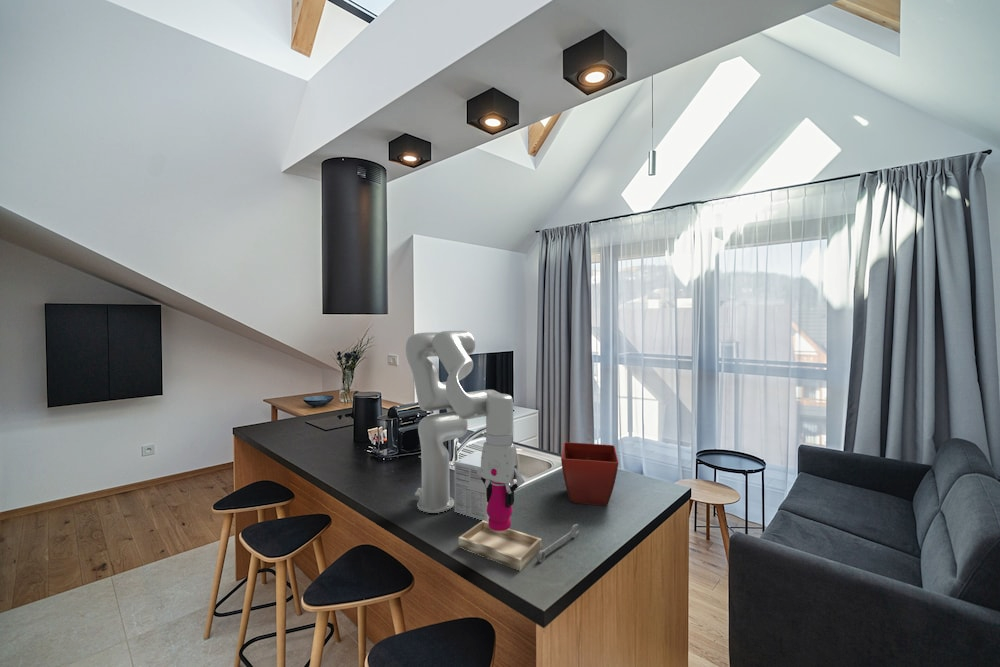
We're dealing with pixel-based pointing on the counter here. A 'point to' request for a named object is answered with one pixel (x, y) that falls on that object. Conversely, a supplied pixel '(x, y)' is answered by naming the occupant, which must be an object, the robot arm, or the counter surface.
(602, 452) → the plant pot
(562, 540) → the combination wrench
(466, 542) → the wooden tray
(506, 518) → the pepper mill
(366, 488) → the counter surface
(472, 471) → the supplement box
